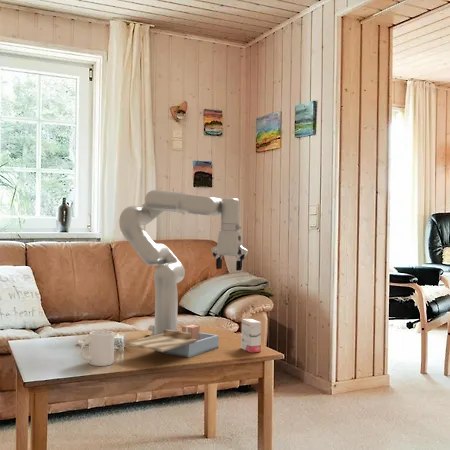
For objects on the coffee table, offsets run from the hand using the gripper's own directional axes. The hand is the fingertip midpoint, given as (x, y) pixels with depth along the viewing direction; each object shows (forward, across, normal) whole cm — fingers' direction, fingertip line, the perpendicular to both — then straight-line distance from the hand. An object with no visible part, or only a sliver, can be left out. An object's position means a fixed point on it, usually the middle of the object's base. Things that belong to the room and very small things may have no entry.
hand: (228, 269), depth 241 cm
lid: (+25, +6, +36) cm, 44 cm away
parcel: (+30, +6, +18) cm, 35 cm away
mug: (+30, +18, +57) cm, 67 cm away
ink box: (+31, -14, +5) cm, 34 cm away
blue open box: (+30, +6, +20) cm, 37 cm away
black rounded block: (+31, +43, +36) cm, 64 cm away
